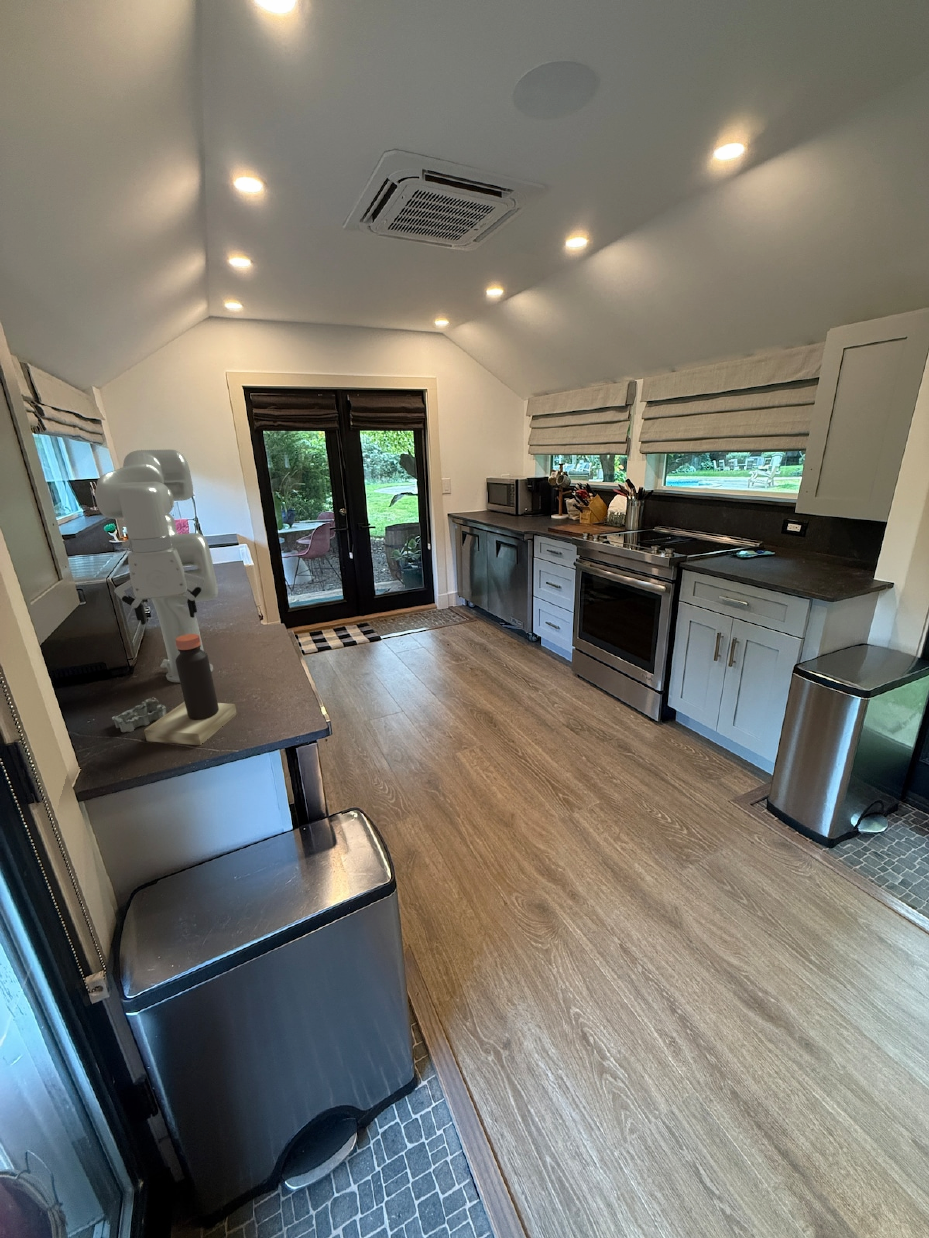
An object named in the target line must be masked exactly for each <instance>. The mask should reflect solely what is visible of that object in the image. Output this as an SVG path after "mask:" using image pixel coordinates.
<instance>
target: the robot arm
mask: <svg viewBox="0 0 929 1238" xmlns="http://www.w3.org/2000/svg"><path fill="white" fill-rule="evenodd" d="M187 461H188V460H187V459H186V458H185V456H184V455H183V454H182V453H181V452H180V451H178V450H177V449H176V450H175V449H140V450H139V449H138V450H133V451H131V452H129V453H127V455H125V457H124V460H123V463H122V464H123V465H122V467H120V468H117V469H115V470H111V471H109V472H107V473H104V474H103V475H101V476H100V477H99V478H98V479H97V482H96V487H95V495H94V496H95V502H96V505H97V509H98V510H99V512H100V513H101V514H102V516H104V517H106V519H107V518H108V519H111V520H112V519H113V520H121V519H123V521H124V522H123V523H124V526H125V529H126V532H127V538H128V539H127V540H125V541H121V547H122V548H123V549H129V550H130V552H129V553H128V554H127V563H128V564H127V565H128V570H129V578H130V579H129V580H127V581H126V582H124V583H122V584H120V585H118V586H117V587H116V588H114V590H113V592H114V593H115V594H116V596H117V597H118V598H119V599H121V601H122V602H123V603H126V604H127V605H129V606H131V608H132V609H134V614H135V617H136V620H137V621H140V624H141V626H143V625H145V624H147V622H148V621H147V616H146V615H147V614H146V610H145V607H144V604H143V603H142V601H143V600H151V601H152V604H153V606H154V609H155V611H156V614H157V618H158V621H159V626H160V629H161V634H162V638H163V642H164V646H165V650H166V653H167V659H166V658H164V659H163V660H162V663H161V664H160V666H159V667H160V668H161V669H167V673H166V674H165V677H166V679H167V681H169V682H171V683H180V680H179V675H178V671H177V667H176V662H175V661H176V658H177V657H178V655H179V654H180V651H178V649H177V646H176V641H175V639H176V638H178V637H180V636H183V635H187V634H197V635H199V638H200V642H201V647H200V650H202V651H204V646H203V641H202V638H201V637H202V636H201V633H200V628H199V621H198V619H197V616H196V613H198V609H197V604H196V603H199V602H206V601H207V602H208V601H210V600H214V599H216V598H217V596H218V593H219V586H218V581H217V577H216V573H215V568H214V562H213V559H212V553H211V550H210V546H209V543H208V540H207V538H206V537H205V536H204V535H202V534H200V533H195V532H191V533H189V532H188V533H178V532H177V531H178V530H177V526H176V521H175V518H174V517H173V516H172V515H171V511H172V509H173V508H174V506H175V502H180V501H187V500H190V499H191V498H192V496H193V494H194V485H193V480H192V476H191V475H192V474H191V470H190V466H189V464H188V462H187ZM187 567H194V569H188V570H187V569H186V570H185V569H184V568H187ZM130 588H132V592H133V595H134V597H132V596H131V595H128V594H127V592H125V591H126V590H128V589H130ZM186 605H187V606H186ZM204 652H205V651H204ZM209 664H210V669H211V673H212V672H213V671H214V666H213V664H212V663H210V662H209Z"/></svg>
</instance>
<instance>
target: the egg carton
mask: <svg viewBox="0 0 929 1238" xmlns="http://www.w3.org/2000/svg"><path fill="white" fill-rule="evenodd" d="M166 714H167V707H166V705H164V704H162V703H161V702H160V701H159V700H158V699H157V698H156V697H155V696H152V697H149V698H148V699H145V700H143V701H142V702H141V704H139V705H135V706H134V707H133V708H131V709H129V710H125V711H123V712H122V713H121V714H119V715H114V716H112V717H111V719H112V720H113V722H114V725H115V728H116V729H119V728H120V732H122V733H126V732H127V733H128V732H131V733H132V732H133V731H135V730H134V729H136V728H138V727H140V726H148V725H149V726H150V725H151V724H150V723H152V721H157V720H159V719H160V718H162V717H163V716H165V715H166Z"/></svg>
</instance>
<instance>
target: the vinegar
mask: <svg viewBox="0 0 929 1238" xmlns="http://www.w3.org/2000/svg"><path fill="white" fill-rule="evenodd" d="M175 641H176V646H177V649H178V651H180V654H179V655H178V657H177V658H176V661H175V662H176V667H177V671H178V675H179V680H180V682H179V683H180V687H181V692H182V696H183V702H185V705H186V710H187V714H188V717H189V718H190V719H193V720H202V719H206V718H209V717H211V716H213V715H215V714H216V713H217V712H218V710H219V707H218V703H219V701H218V698H217V694H216V687H215V683H214V678H213V674H212V672H211V669H210V664H211V663H210V659H209V655H208V653H207V652H206V651H202V650H200V647H201V642H200V638H199V635H197V634H187V635H183V636H180V637H178V638H176V639H175ZM209 663H210V664H209Z"/></svg>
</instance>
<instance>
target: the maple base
mask: <svg viewBox="0 0 929 1238" xmlns="http://www.w3.org/2000/svg"><path fill="white" fill-rule="evenodd" d="M218 707H219V710H218V712H217V713H216V714H215V715H213V716H211V717H209V718H206V719H202V720H193V719H190V718H189V717H188V714H187V710H186V705H185V701H183V702H182V703H180V704H179V705H177V706H176V707H175V708H173V709H172V710H170V711H169V712H168V713H167V712H166V715H165V716H163V717H162V718H160V719H159V720H158V719H157V720H155V722H153V723H152V724H149V726H147V727H146V728H145V729H144V730H143V732H144V735H145V739H146V742H155V743H156V742H157V743H167V744H179V745H193V746H202V745H203V744H204V743H206V741H208V740H209V739H210V738H211V737H213V735H215V734H216V733H217V732H218V731H220V730H221V729H222V728H223V727H224V726H225V725H226V724H228V723H229V722H230V721H231V720H232V719H233V718H234V717H236V715H238V713H237V708H236V704H235V703H226V702H225V703H224V702H218ZM222 726H223V727H222ZM207 739H208V740H207ZM202 743H203V744H202Z"/></svg>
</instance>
